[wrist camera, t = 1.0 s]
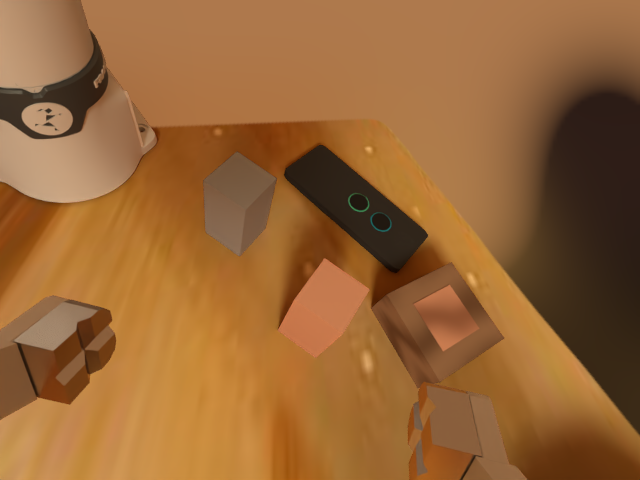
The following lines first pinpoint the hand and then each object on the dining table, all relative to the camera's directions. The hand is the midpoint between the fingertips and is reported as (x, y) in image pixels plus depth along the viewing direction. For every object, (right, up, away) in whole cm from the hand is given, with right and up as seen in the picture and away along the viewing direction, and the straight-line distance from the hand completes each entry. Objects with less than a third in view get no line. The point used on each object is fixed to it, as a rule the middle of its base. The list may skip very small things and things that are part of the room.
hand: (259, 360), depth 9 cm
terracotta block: (0, -6, +32) cm, 32 cm away
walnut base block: (+14, -8, +35) cm, 39 cm away
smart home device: (+6, +7, +42) cm, 43 cm away
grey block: (-9, +4, +35) cm, 36 cm away
